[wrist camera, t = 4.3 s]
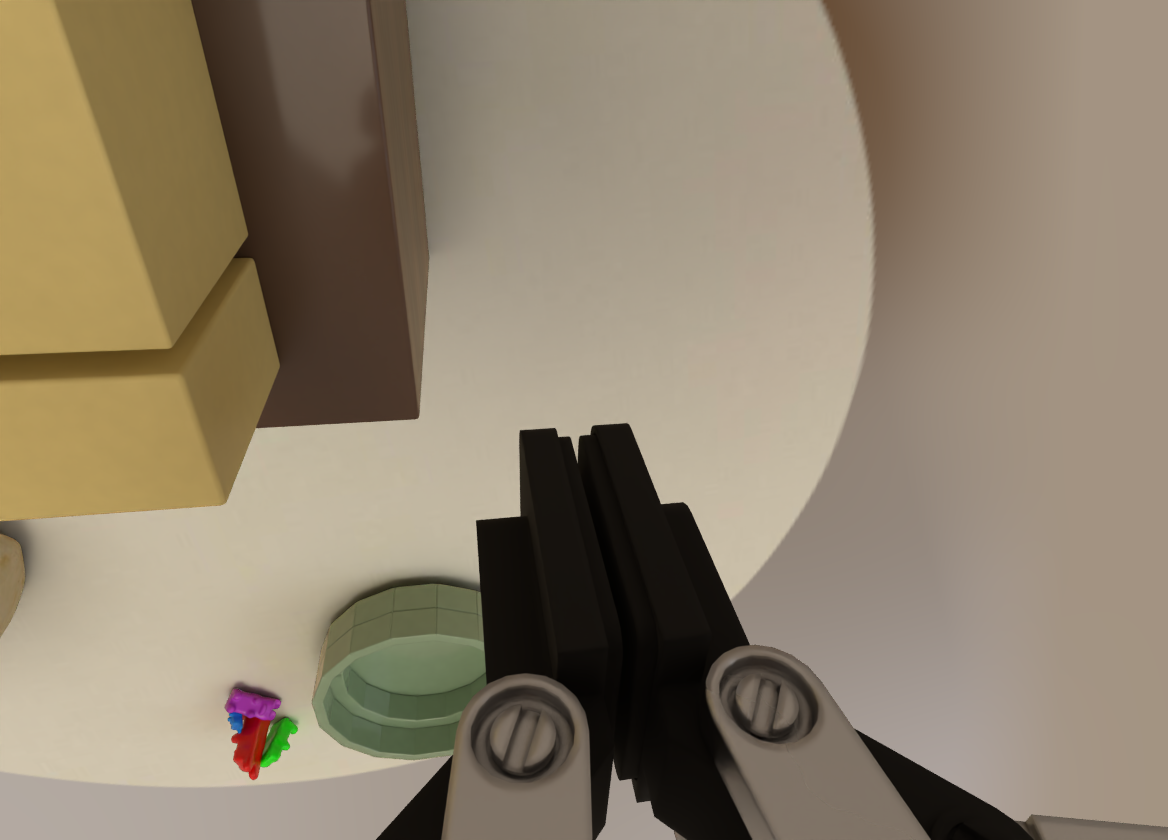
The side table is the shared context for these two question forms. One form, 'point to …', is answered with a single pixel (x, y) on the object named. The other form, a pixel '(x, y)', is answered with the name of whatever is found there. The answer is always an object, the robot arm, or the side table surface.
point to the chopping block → (327, 197)
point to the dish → (401, 671)
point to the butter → (108, 176)
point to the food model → (10, 579)
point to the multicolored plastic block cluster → (257, 730)
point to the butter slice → (139, 414)
